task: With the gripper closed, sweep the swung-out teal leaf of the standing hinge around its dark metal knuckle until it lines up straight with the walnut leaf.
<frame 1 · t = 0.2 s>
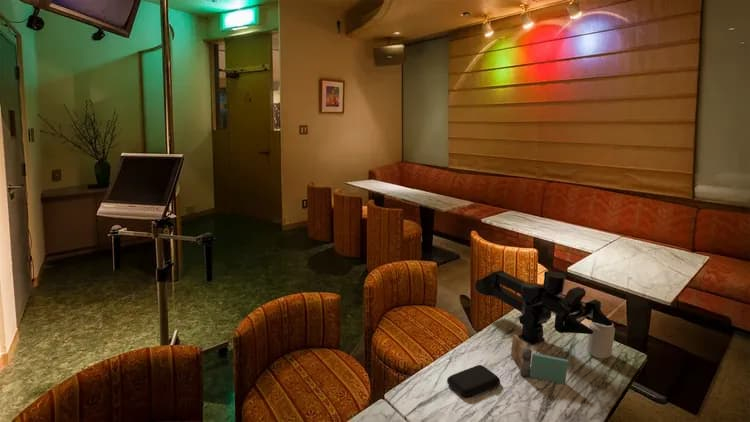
hand: (602, 328, 133), 17 cm above the table, tool horizontal, fingers open, 9 cm apart
fixed leaf: (524, 375, 138), on the table
can: (598, 354, 149), on the table
carrying case or bag: (474, 386, 133), on the table
hinge leaf: (543, 367, 135), point 4 cm above the table, hinge at 65.0°
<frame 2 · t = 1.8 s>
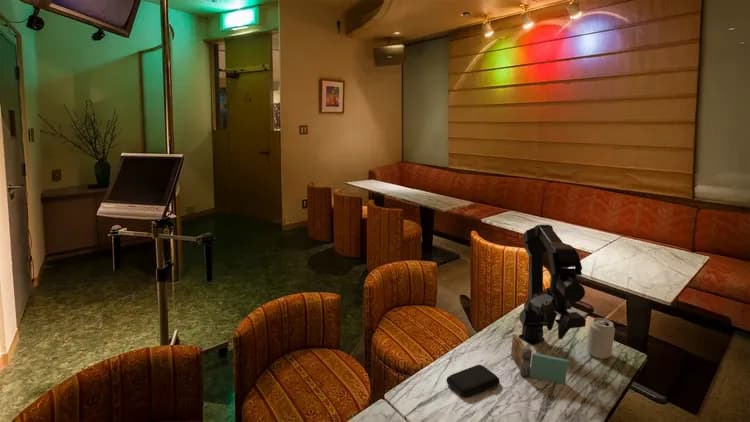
hand: (554, 334, 136), 13 cm above the table, tool pointing down, fingers open, 5 cm apart
nothing on the table moved.
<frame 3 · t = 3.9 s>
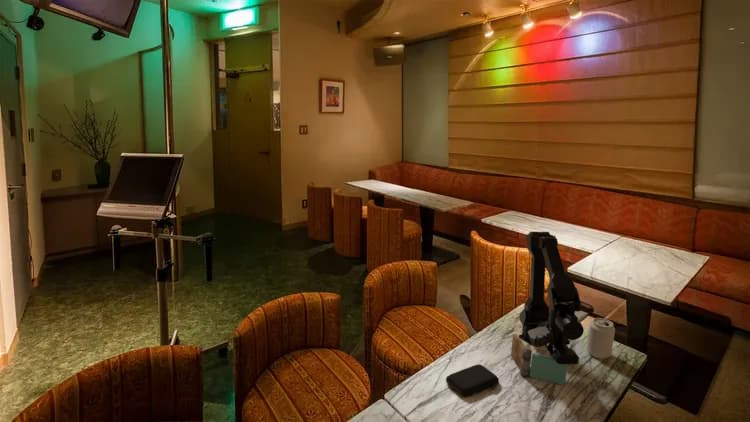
hand: (553, 367, 137), 3 cm above the table, tool pointing down, fingers closed
hinge leaf: (543, 367, 135), point 4 cm above the table, hinge at 62.0°, touching gripper
everything else where it was.
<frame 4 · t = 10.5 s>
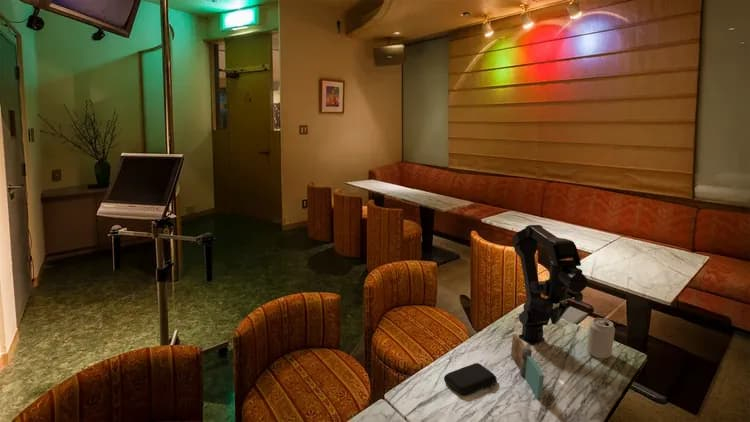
hand: (553, 323, 143), 13 cm above the table, tool pointing down, fingers closed
hinge leaf: (532, 373, 132), point 4 cm above the table, hinge at -1.2°
at the end: hinge leaf at -1° (first picture: +65°) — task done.
